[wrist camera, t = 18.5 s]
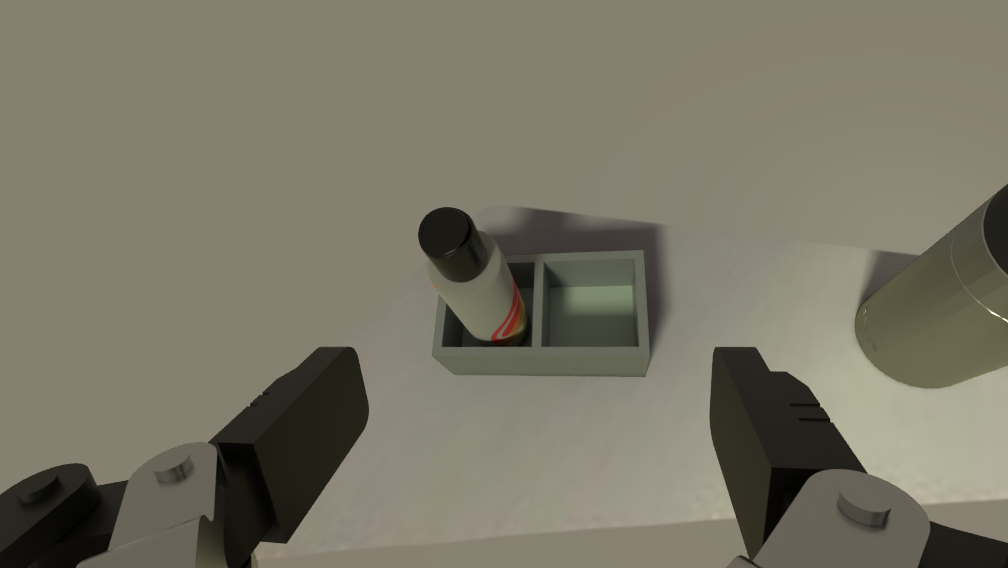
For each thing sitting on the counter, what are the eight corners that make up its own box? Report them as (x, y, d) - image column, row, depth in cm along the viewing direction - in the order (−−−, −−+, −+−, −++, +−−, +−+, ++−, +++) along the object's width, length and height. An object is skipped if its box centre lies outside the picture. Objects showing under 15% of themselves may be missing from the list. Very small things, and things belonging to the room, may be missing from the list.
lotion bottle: (543, 327, 49) (504, 224, 31) (501, 367, 49) (436, 285, 31) (505, 291, 52) (449, 175, 34) (464, 328, 51) (384, 231, 33)
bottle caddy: (639, 282, 50) (643, 249, 44) (644, 376, 47) (650, 356, 40) (462, 286, 54) (443, 257, 48) (454, 374, 50) (431, 355, 44)
